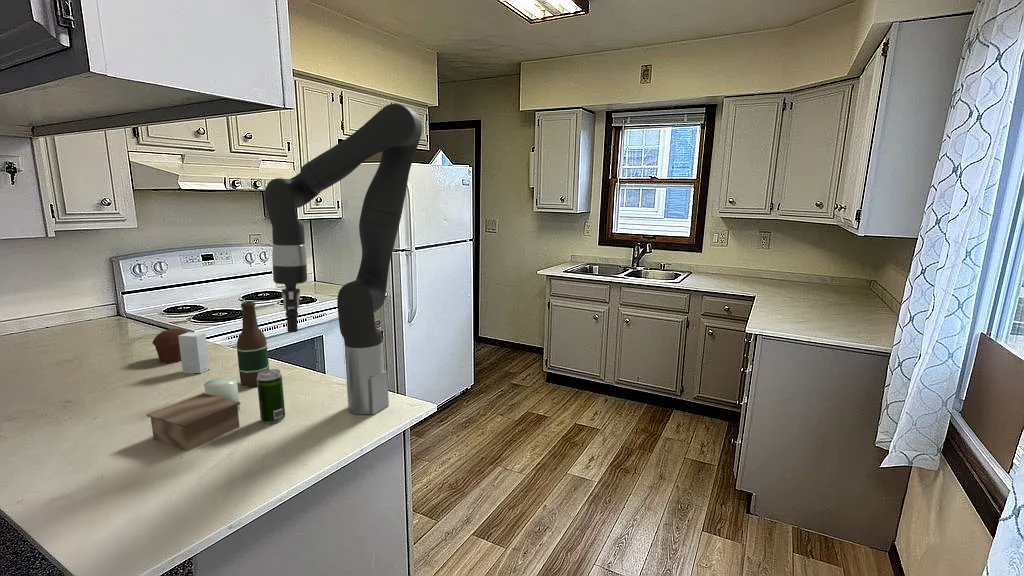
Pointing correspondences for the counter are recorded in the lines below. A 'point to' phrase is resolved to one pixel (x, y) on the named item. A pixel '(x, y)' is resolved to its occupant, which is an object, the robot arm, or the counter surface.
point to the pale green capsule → (223, 388)
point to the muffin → (168, 345)
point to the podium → (194, 421)
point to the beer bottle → (251, 347)
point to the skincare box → (194, 352)
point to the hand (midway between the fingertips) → (292, 327)
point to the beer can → (271, 396)
